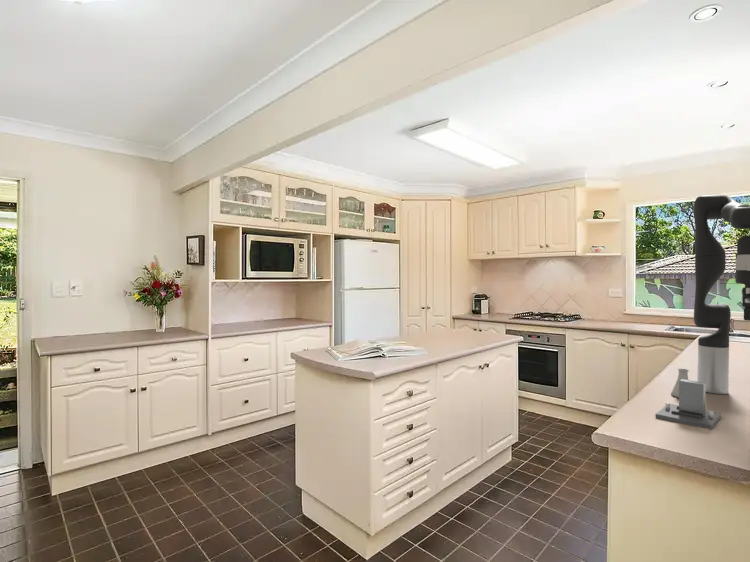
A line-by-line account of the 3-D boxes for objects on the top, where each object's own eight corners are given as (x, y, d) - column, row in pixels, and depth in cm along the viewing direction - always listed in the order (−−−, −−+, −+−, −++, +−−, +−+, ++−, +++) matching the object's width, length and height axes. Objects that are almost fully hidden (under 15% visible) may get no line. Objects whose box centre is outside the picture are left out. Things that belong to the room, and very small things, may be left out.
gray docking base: (655, 417, 130) (655, 407, 130) (668, 407, 141) (669, 397, 141) (711, 429, 120) (711, 418, 120) (721, 417, 131) (721, 406, 131)
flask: (699, 400, 150) (699, 371, 150) (676, 398, 151) (676, 370, 151) (688, 394, 157) (689, 367, 157) (666, 393, 158) (667, 366, 158)
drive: (678, 413, 131) (679, 380, 131) (681, 410, 134) (681, 379, 133) (703, 417, 127) (703, 384, 127) (705, 415, 129) (705, 382, 129)
